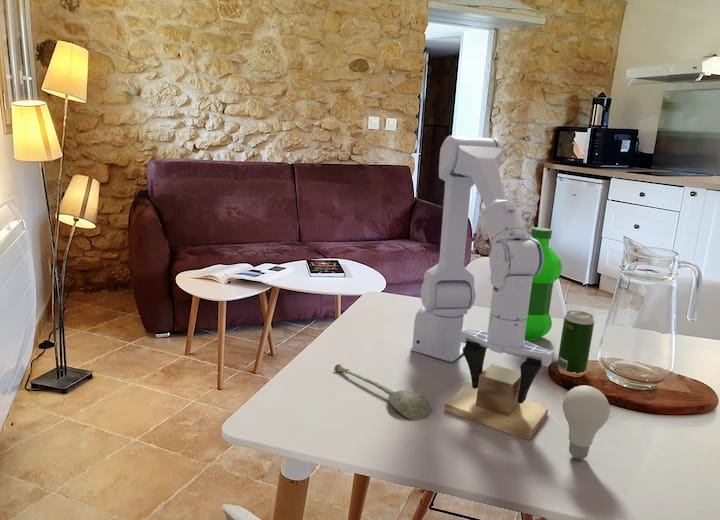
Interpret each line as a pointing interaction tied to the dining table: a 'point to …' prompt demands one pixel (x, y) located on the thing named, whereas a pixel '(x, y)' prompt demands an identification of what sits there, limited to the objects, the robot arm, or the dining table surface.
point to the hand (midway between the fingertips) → (498, 393)
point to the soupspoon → (399, 399)
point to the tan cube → (498, 389)
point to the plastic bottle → (542, 288)
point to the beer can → (575, 341)
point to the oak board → (517, 423)
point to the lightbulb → (584, 417)
